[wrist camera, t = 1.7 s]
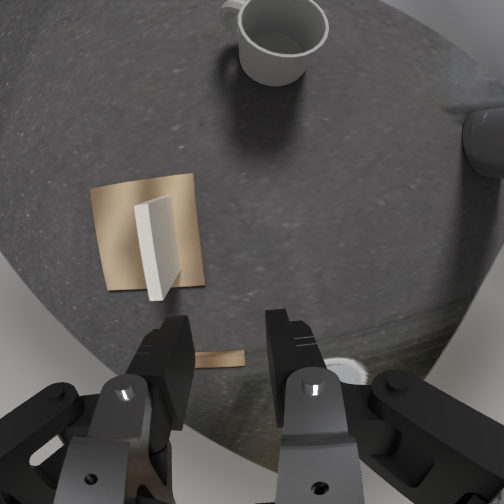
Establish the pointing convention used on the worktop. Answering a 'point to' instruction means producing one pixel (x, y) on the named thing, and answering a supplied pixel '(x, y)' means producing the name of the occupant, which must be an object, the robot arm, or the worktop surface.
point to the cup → (275, 37)
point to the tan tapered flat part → (220, 359)
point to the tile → (158, 245)
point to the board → (126, 236)
